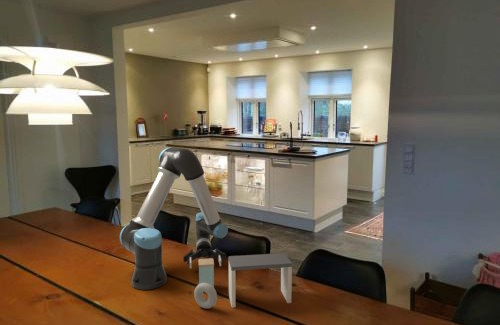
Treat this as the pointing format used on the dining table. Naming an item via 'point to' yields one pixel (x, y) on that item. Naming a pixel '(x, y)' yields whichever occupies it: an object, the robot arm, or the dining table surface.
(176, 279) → the dining table surface
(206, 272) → the pale teal block
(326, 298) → the dining table surface
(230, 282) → the stand
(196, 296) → the donut
